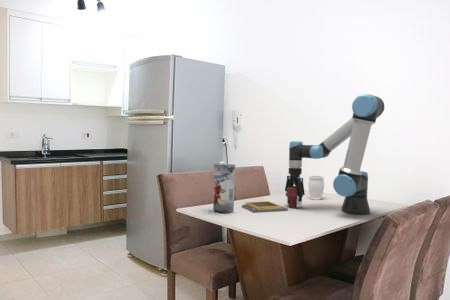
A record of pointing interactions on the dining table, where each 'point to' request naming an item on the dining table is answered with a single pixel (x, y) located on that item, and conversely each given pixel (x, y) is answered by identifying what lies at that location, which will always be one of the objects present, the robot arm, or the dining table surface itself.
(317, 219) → the dining table surface
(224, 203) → the juice carton
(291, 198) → the mechanical component
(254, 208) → the deck plate
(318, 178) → the jar
